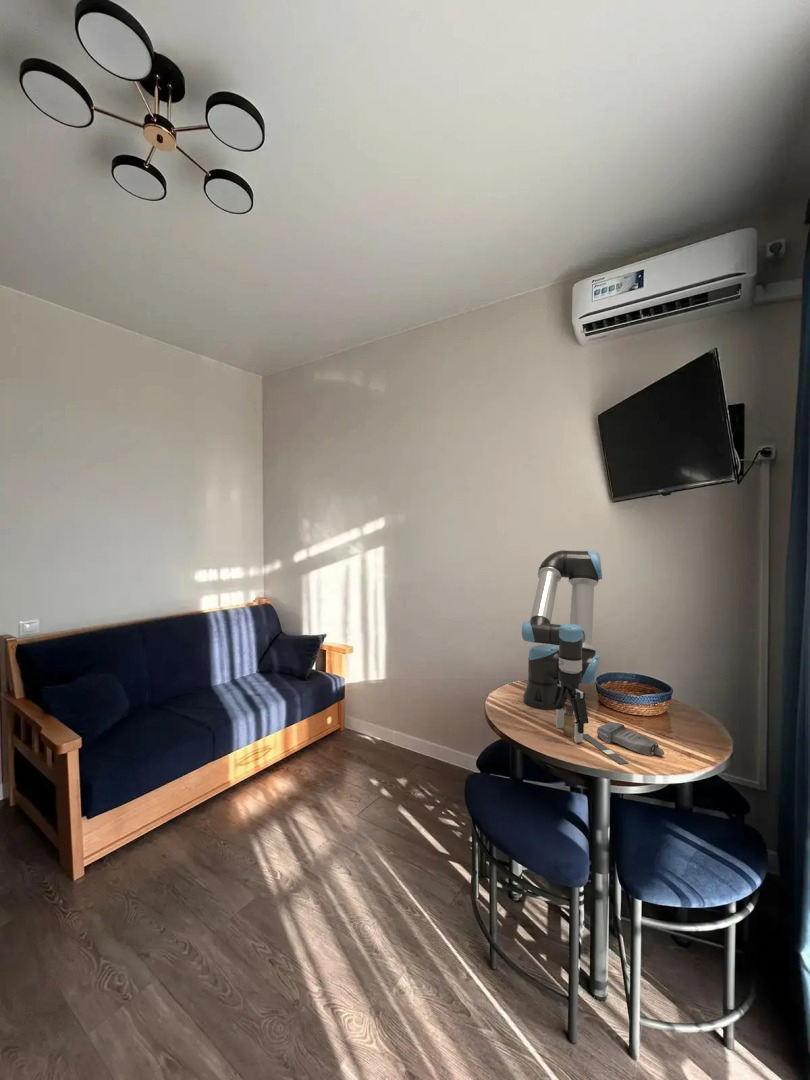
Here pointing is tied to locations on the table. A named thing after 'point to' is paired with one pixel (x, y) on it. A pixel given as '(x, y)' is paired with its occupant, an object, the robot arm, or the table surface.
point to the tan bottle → (569, 723)
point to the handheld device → (628, 739)
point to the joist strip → (604, 749)
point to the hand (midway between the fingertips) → (568, 734)
